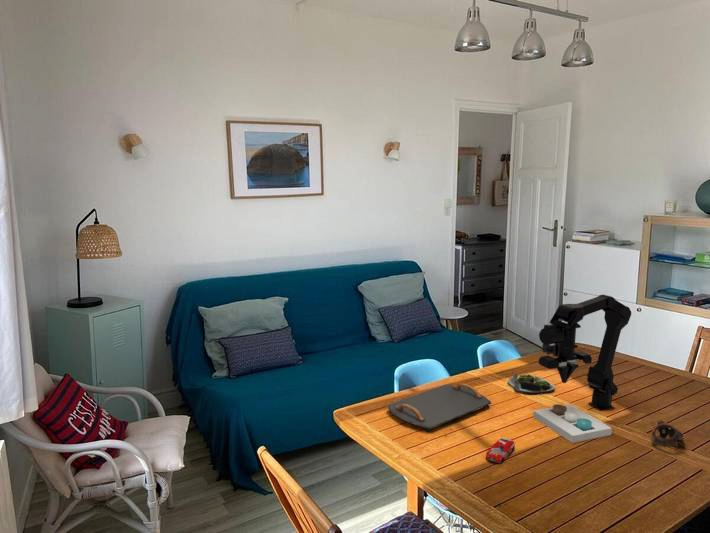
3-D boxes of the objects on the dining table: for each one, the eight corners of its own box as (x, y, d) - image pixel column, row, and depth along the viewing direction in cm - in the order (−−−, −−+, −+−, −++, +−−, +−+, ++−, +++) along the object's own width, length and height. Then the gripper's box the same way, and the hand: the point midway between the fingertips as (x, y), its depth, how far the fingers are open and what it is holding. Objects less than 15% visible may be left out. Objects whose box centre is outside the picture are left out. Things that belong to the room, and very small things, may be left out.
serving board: (451, 388, 219) (452, 374, 218) (497, 407, 201) (498, 391, 200) (380, 414, 196) (380, 398, 195) (425, 438, 178) (425, 420, 177)
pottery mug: (693, 454, 167) (687, 436, 164) (663, 464, 169) (656, 446, 166) (674, 428, 178) (667, 410, 175) (645, 437, 180) (639, 420, 177)
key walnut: (560, 411, 194) (560, 403, 193) (569, 417, 189) (569, 408, 189) (549, 413, 192) (550, 405, 192) (558, 419, 188) (558, 410, 187)
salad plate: (496, 379, 229) (497, 369, 228) (534, 375, 232) (535, 365, 232) (519, 397, 210) (520, 386, 209) (560, 393, 214) (561, 382, 213)
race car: (499, 467, 160) (499, 454, 159) (482, 461, 163) (483, 449, 163) (517, 449, 170) (518, 438, 169) (501, 444, 173) (502, 432, 173)
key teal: (584, 426, 182) (584, 417, 182) (594, 432, 178) (594, 423, 178) (573, 428, 181) (573, 419, 180) (583, 434, 177) (583, 425, 176)
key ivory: (571, 418, 188) (572, 410, 187) (581, 424, 184) (581, 415, 183) (561, 420, 186) (561, 412, 186) (570, 426, 182) (570, 417, 182)
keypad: (569, 410, 197) (569, 404, 197) (611, 435, 179) (611, 428, 178) (533, 417, 192) (533, 410, 192) (572, 443, 173) (572, 435, 173)
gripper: (571, 331, 198) (569, 371, 201) (529, 337, 192) (527, 378, 195) (594, 340, 188) (591, 382, 190) (550, 346, 182) (548, 389, 184)
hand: (563, 382), depth 190 cm, fingers closed
